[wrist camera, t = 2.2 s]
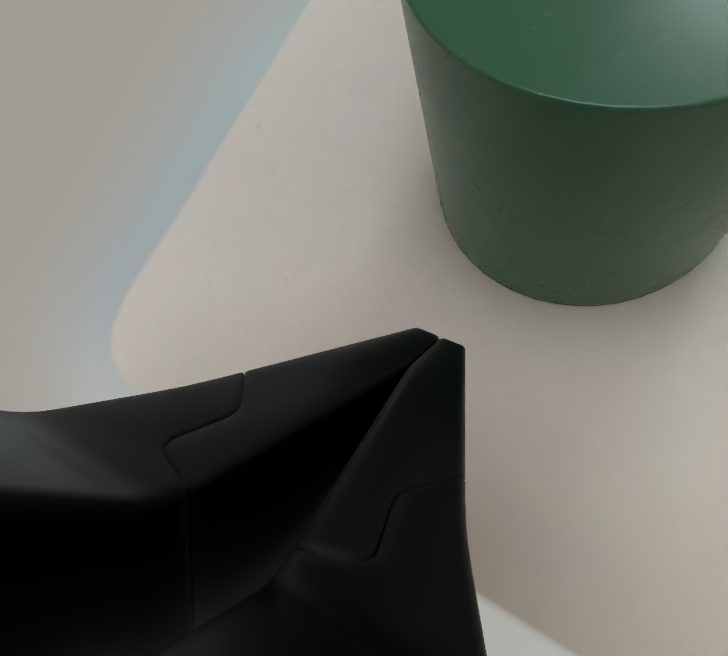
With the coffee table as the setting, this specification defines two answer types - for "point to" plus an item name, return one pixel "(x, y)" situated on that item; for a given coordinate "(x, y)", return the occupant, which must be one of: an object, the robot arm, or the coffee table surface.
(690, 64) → the green cylinder
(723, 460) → the coffee table surface
